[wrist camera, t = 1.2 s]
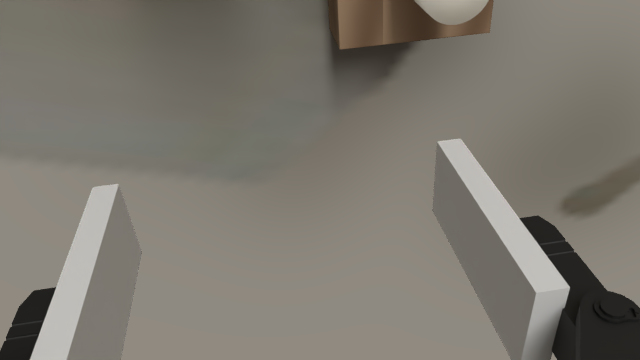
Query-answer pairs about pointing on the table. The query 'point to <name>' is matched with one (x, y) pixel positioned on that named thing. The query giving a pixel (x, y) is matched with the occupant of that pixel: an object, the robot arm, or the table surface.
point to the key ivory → (452, 10)
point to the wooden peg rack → (394, 23)
